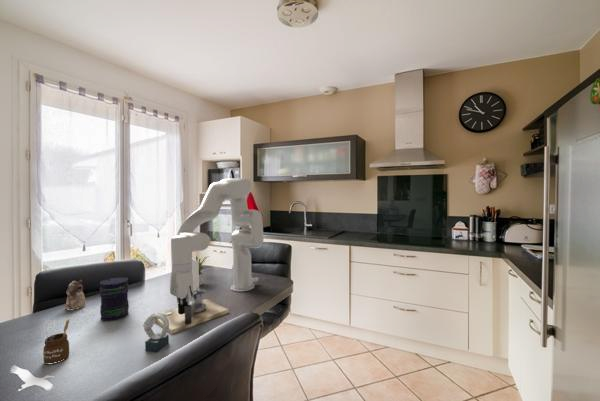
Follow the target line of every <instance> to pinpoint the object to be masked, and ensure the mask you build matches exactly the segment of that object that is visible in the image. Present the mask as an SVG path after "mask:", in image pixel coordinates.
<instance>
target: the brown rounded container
mask: <svg viewBox="0 0 600 401" xmlns="http://www.w3.org/2000/svg"><path fill="white" fill-rule="evenodd" d="M69 323H70V318H69V319H67V320H66V321H65V325H64V328H63V332H60V333H56V328H55V326H53V325H49V324H47V325H45V327H44V329H43V331H44V334H45V337H46V338H45V339H44V344H45V345H44V346H43V350H42V351H43V353H42V354H43V363H44V364H45V363H54V362H58V361H61V360H63V359H65V358H66V357H69V355H70V342H69V339H68V334H67V333H66V332H67V330H68V327H69ZM48 328H52V329H51V331H49V329H48ZM45 329H46V330H48V331H46V330H45ZM50 332H51V334H50ZM48 335H49V336H48ZM65 360H66V359H65Z"/></svg>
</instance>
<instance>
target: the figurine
mask: <svg viewBox="0 0 600 401" xmlns="http://www.w3.org/2000/svg"><path fill="white" fill-rule="evenodd" d="M82 283H83V280H82V279H80V280H79V281H76V280H72V282H70V283H69V285H68V287H67V289H66V292H65V293H66V294H67V297H66V300H65V301H66V303H65V307H64V310H65V309H70V310H71V309H77V308H80V309H82V308H84V307H85V306H86V297H85V293H84V292H83V290H84V286H83V284H82ZM79 288H80V289H79ZM84 305H85V306H84ZM83 306H84V307H83ZM81 307H82V308H81ZM77 310H78V309H77Z"/></svg>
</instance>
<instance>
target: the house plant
mask: <svg viewBox="0 0 600 401" xmlns="http://www.w3.org/2000/svg"><path fill="white" fill-rule="evenodd" d="M208 257H210V256H208V255H207V256H204V257H203V256H202V257H201V258H199V257H198V255H196V257H195V260H197V261H198V262H199V286H201V285H202V284H203V278H204V271H202V270H203V269H206V264H205V265H204V263H205V262H206V260H207V258H208ZM201 260H202V261H201Z"/></svg>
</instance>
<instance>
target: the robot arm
mask: <svg viewBox="0 0 600 401" xmlns="http://www.w3.org/2000/svg"><path fill="white" fill-rule="evenodd" d="M252 189H253V183H252V181H251V180H250V178H247V177H234V178H233V177H230V178H223V179H221V180H220V181H214V182H212V183H211V184H210V185H209V187H208V188H207V190H206V193H205V195H204V197H203V199H202V201H201V203H200V206H199V208H198V209H196V210H195V211H193V212H192V213H191V214H190V215H189V216H188V217H187V218H185V220H184V221H183V222H182V224H181V225H180V227H179V229H178V232H177V234H176V235H174V236H172V237H171V239H170V250H171V251H170V253H171V254H170V256H171V261H170V262H171V273H170V284H169V286H170V287H169V288H170V290H169V291H170V294H171V295H172V296H174V297H176V302H177V308H178V313H179V314H184V313H185V306H186V305H188V301H191V300H192V299H191V296H193V294H194V284H193V274H192V258H193V252H202V251H205V250H207V249H208V248H209V247H210V245H211V237H210V236H209V235H208V234H206V233H205V232H197V231H195V230H196V229H197V228H198V227H199V226H201V225H203V224H204V223H206V222H209V221H211V220H214V219H215V218H217V216H218V215H219V213H220V211H221V208H222V206H223V203H224V201H229V202H230V210H231V211H230V212H231V220H232V224H233V227H237V228H240V229H236V230H234V231H233V232H232V233H231V235H230V242H231V243H230V244H231V247H232V258H233V259H232V262H233V263H232V267H233V268H232V269H233V270H232V272H233V275H232V276H233V281H232V282H233V283H232V284H231V285H230V291H233V292H240V293H241V292H248V291H251V290H253V289H255V284H254V282H258V281H259V277H252V253H251V250H250V249H260V248H261V247H262V246H263V244H264V227H263V226H264V225H263V223H264V222H263V216H262V214H261V212H260V211H259V210H257V209H249V207H248V200H247V197H246V196H248V195H250V193H252ZM241 228H242V229H241Z"/></svg>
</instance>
